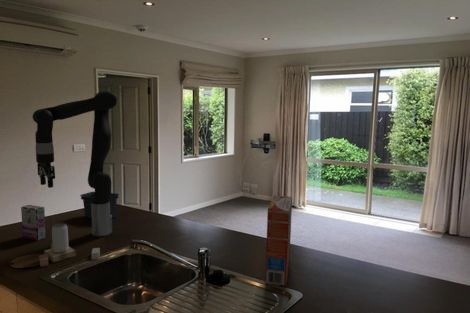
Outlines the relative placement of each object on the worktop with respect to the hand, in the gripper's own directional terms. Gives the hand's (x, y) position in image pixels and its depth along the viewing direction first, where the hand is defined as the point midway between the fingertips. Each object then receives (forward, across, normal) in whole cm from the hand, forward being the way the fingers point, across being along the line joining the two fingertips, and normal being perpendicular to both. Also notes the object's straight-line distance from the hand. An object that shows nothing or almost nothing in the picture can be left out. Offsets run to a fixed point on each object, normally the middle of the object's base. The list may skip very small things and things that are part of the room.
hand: (46, 186), depth 172 cm
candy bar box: (+30, +16, +2) cm, 34 cm away
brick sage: (+30, -8, -1) cm, 31 cm away
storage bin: (+30, +24, -40) cm, 55 cm away
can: (+27, -16, +2) cm, 32 cm away
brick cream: (+28, -28, -7) cm, 40 cm away
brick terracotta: (+30, -19, +10) cm, 37 cm away
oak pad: (+29, -16, +2) cm, 34 cm away
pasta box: (+30, -97, -53) cm, 115 cm away
